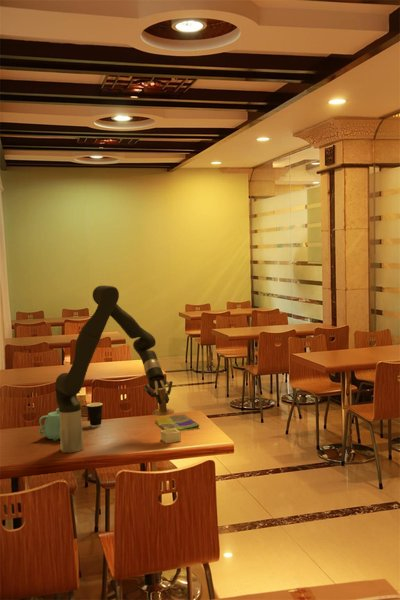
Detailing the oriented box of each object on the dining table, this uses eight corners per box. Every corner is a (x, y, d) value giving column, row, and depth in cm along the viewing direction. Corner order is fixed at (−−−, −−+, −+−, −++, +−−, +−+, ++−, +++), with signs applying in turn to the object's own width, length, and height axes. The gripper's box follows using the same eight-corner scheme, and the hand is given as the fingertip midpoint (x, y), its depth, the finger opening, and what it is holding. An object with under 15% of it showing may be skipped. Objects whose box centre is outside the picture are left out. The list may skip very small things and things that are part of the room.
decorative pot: (62, 443, 282) (60, 414, 281) (35, 440, 290) (34, 411, 289) (85, 434, 296) (84, 406, 295) (60, 431, 304) (58, 403, 304)
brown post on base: (156, 416, 271) (154, 392, 270) (149, 412, 280) (147, 388, 279) (177, 413, 274) (175, 389, 274) (169, 409, 283) (168, 385, 283)
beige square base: (165, 443, 274) (165, 434, 273) (161, 439, 280) (160, 430, 280) (180, 440, 276) (180, 431, 276) (175, 437, 283) (175, 428, 283)
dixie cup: (88, 424, 315) (87, 403, 314) (104, 423, 316) (103, 401, 315) (87, 428, 307) (85, 406, 307) (103, 427, 308) (101, 405, 307)
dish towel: (164, 434, 291) (164, 428, 291) (154, 422, 314) (154, 417, 314) (200, 429, 295) (200, 424, 295) (188, 418, 319) (187, 413, 319)
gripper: (140, 368, 280) (150, 400, 270) (169, 364, 285) (180, 395, 275) (137, 378, 285) (147, 410, 275) (166, 374, 291) (177, 405, 280)
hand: (164, 402), depth 275 cm, fingers closed on brown post on base, 2 cm apart
